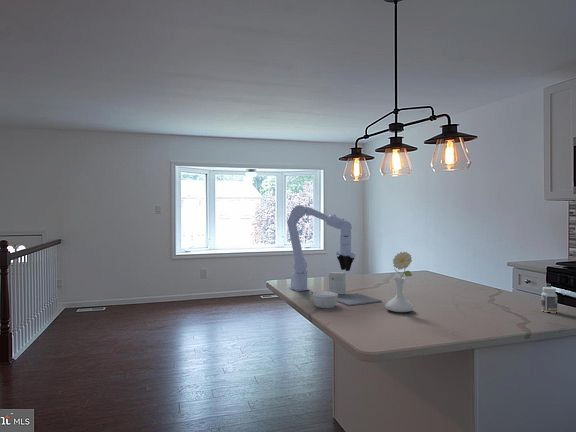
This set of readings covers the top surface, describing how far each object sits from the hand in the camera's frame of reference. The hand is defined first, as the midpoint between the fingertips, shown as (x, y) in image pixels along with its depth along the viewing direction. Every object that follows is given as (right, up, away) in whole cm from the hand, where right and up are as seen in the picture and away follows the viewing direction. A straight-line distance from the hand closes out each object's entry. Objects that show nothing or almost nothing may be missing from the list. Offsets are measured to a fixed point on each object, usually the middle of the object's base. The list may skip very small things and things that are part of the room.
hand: (345, 270), depth 210 cm
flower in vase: (+17, -11, -43) cm, 47 cm away
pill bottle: (+78, -12, -43) cm, 90 cm away
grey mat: (+1, -11, -22) cm, 24 cm away
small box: (-6, -10, -11) cm, 16 cm away
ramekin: (-14, -11, -33) cm, 38 cm away
